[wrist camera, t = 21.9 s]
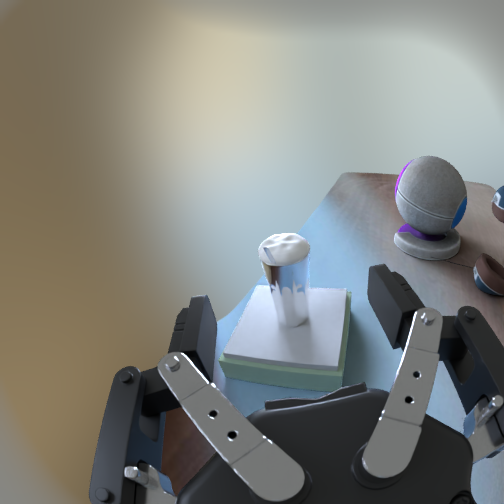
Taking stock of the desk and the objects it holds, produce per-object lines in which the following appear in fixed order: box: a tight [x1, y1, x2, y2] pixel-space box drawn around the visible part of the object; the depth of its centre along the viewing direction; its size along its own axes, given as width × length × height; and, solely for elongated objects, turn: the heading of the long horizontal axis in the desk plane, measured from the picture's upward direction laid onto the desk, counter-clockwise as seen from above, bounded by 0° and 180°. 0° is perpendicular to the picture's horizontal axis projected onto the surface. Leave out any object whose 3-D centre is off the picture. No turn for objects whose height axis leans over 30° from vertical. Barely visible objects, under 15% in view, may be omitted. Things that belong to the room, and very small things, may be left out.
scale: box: [218, 285, 351, 392], centre depth 29 cm, size 12×12×4 cm
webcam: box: [394, 156, 467, 260], centre depth 38 cm, size 13×13×15 cm
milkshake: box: [258, 233, 310, 327], centre depth 26 cm, size 4×5×10 cm
